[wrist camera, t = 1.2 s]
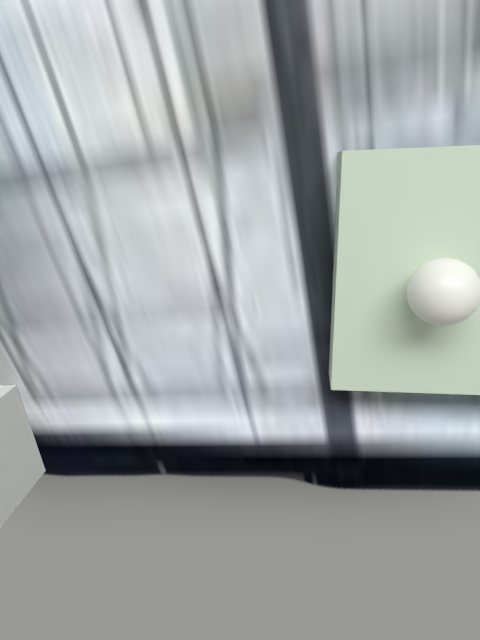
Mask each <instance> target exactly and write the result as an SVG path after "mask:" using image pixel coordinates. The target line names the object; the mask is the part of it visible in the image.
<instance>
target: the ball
mask: <svg viewBox="0 0 480 640" xmlns="http://www.w3.org/2000/svg"><path fill="white" fill-rule="evenodd" d="M406 295H407V301H408V304H409V306H410V308H411V310H412V311H413V313H414V314H415V315H416V316H417V317H419V318H420V319H421V320H423V321H425V322H427V323H429V324H432V325H437V326H449V325H454V324H457V323H460V322H462V321H464V320H466V319H467V318H469V317H470V316H471V315H472V314H473V313H474V312H475V310H476V309H477V307H478V306H479V304H480V278H479V276H478V275H477V273H476V272H475V270H474V269H473V268H472V267H470V266H469V265H468V264H466V263H464V262H462V261H460V260H457V259H453V258H438V259H434V260H431V261H428V262H426V263H424V264H423V265H421V266H420V267H419V268H418V269H417V270H416V271H415V272H414V273H413V274H412V276H411V277H410V280H409V282H408V285H407V291H406Z"/></svg>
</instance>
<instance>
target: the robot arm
mask: <svg viewBox="0 0 480 640" xmlns="http://www.w3.org/2000/svg"><path fill="white" fill-rule="evenodd" d="M44 472H45V468H44V465H43V462H42V459H41V456H40V453H39V450H38V447H37V444H36V441H35V438H34V435H33V432H32V429H31V427H30V424H29V421H28V418H27V415H26V412H25V409H24V406H23V403H22V400H21V397H20V394H19V391H18V388H17V385H0V527H1V526H2V525H3V524H4V522H5V521H6V520H7V519H8V517H9V516H10V514H12V512H13V511H14V510H15V508H16V507H17V506H18V505H19V504H20V502H21V501H22V500H23V499H24V497H25V496H26V495H27V493H28V492H29V491H30V490H31V488H32V487H33V486H34V485H35V483H36V482H37V481H38V480H39V478H40V477H41V476H42V475H43V473H44Z"/></svg>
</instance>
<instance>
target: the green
mask: <svg viewBox="0 0 480 640" xmlns="http://www.w3.org/2000/svg"><path fill="white" fill-rule="evenodd" d="M438 258H453V259H457V260H460V261H462V262H464V263H466V264H468V265H469V266H470V267H472V268H473V269H474V270H475V272H476V273H477V275H478V276H479V278H480V145H472V146H448V147H425V148H402V149H379V150H356V151H341V152H338V173H337V195H336V218H335V241H334V264H333V286H332V309H331V332H330V355H329V379H330V386H331V390H348V391H377V392H405V393H434V394H463V395H480V304H479V306H478V307H477V309H476V310H475V312H474V313H473V314H472V315H471V316H470V317H469V318H467V319H466V320H464V321H462V322H460V323H457V324H454V325H449V326H437V325H432V324H429V323H427V322H425V321H423V320H421V319H420V318H419V317H417V316H416V315H415V314H414V313H413V311H412V310H411V308H410V306H409V304H408V301H407V295H406V291H407V285H408V282H409V280H410V277H411V276H412V274H413V273H414V272H415V271H416V270H417V269H418V268H419V267H420V266H421V265H423V264H424V263H426V262H428V261H431V260H434V259H438Z"/></svg>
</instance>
